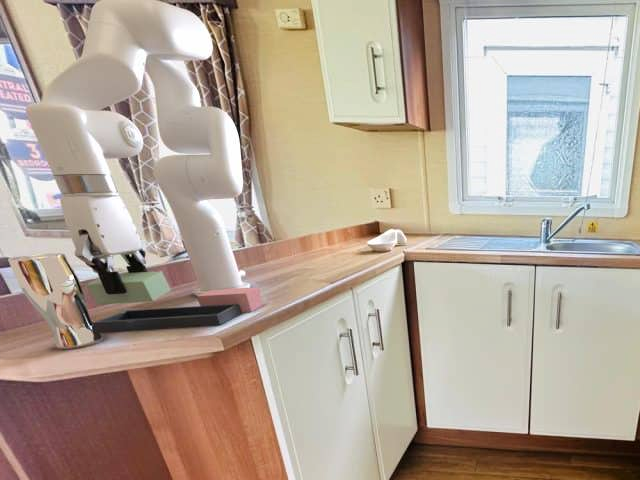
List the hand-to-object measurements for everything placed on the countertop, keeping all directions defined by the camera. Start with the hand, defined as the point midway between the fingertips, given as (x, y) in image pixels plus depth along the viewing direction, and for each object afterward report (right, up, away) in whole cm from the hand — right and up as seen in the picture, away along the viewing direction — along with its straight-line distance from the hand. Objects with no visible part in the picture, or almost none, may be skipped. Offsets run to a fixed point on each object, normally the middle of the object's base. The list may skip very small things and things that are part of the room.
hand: (130, 288), depth 81 cm
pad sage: (0, -1, +1) cm, 2 cm away
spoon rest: (+22, +39, +97) cm, 107 cm away
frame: (+5, -6, +4) cm, 9 cm away
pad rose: (+13, -2, +11) cm, 17 cm away
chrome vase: (-2, -11, -7) cm, 13 cm away
